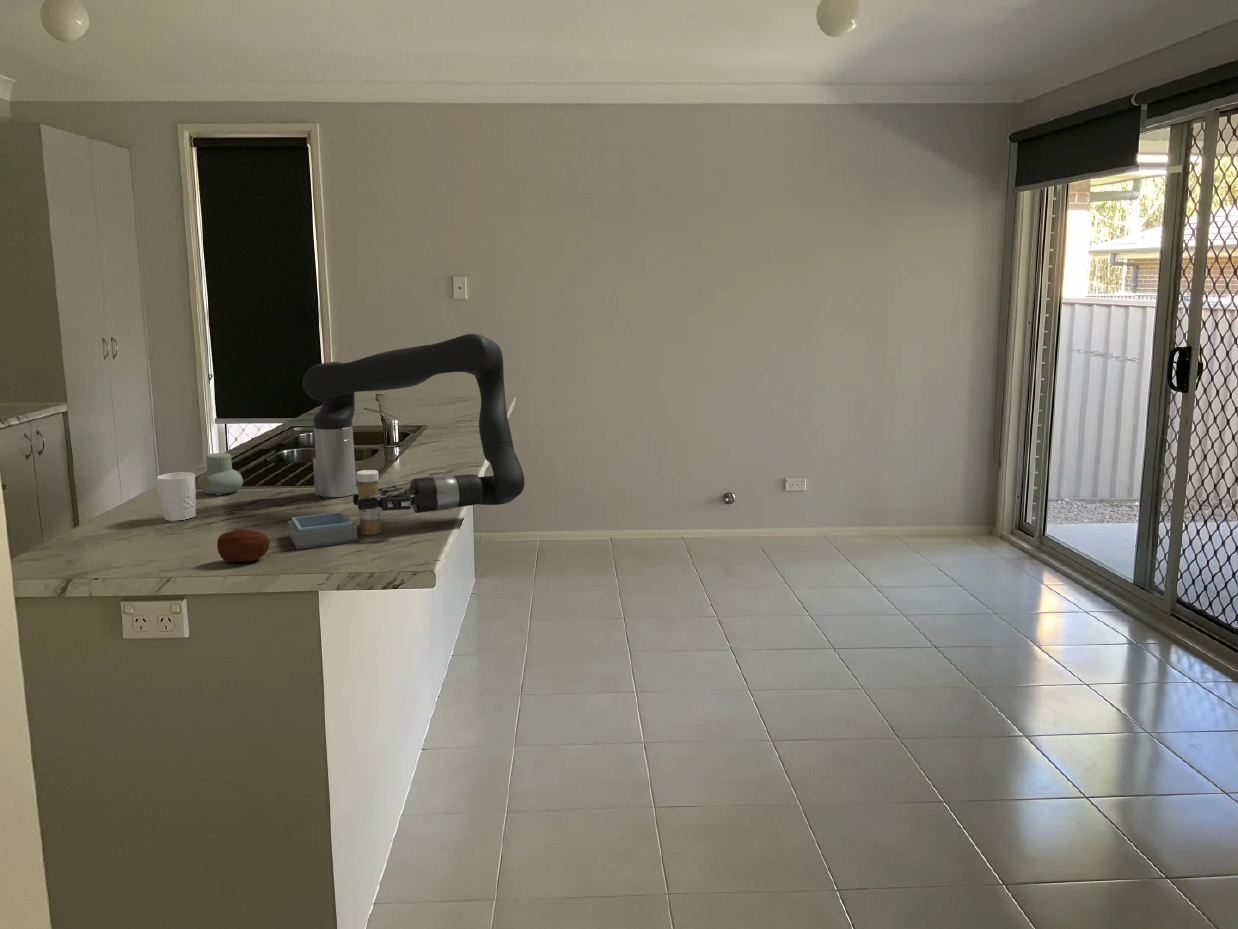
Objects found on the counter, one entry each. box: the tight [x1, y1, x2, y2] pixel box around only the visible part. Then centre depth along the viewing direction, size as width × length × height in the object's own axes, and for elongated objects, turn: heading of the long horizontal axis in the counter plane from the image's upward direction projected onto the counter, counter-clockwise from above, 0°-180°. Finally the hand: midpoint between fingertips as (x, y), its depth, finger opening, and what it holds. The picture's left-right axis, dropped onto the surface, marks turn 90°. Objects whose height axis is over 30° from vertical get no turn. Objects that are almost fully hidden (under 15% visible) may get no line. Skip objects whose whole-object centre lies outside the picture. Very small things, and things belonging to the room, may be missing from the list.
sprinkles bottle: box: [355, 469, 382, 536], centre depth 206 cm, size 5×5×14 cm
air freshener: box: [198, 452, 244, 495], centre depth 247 cm, size 11×8×10 cm
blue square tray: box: [287, 511, 359, 550], centre depth 202 cm, size 12×12×4 cm
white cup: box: [156, 471, 197, 522], centre depth 221 cm, size 8×8×10 cm
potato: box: [216, 528, 271, 563], centre depth 187 cm, size 7×9×6 cm
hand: (356, 502), depth 205 cm, fingers closed on sprinkles bottle, 4 cm apart
